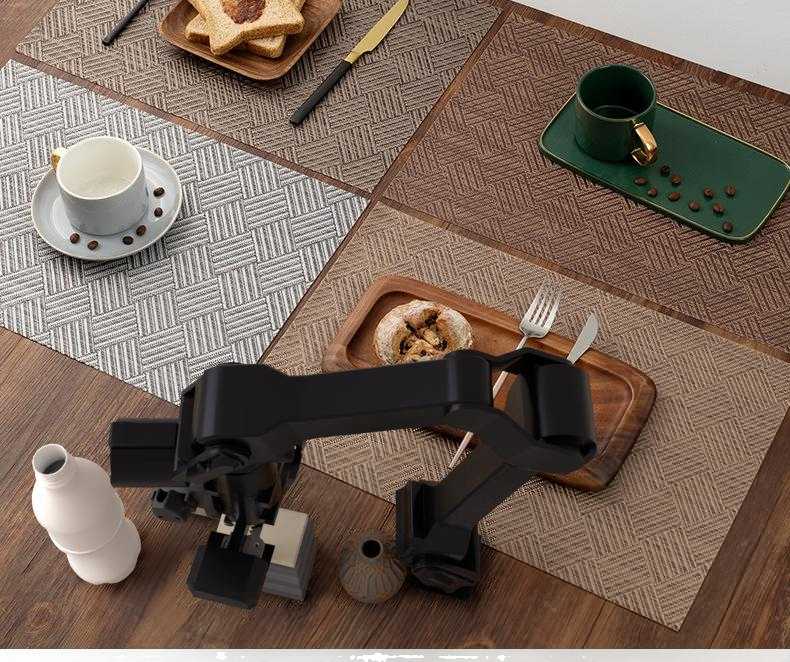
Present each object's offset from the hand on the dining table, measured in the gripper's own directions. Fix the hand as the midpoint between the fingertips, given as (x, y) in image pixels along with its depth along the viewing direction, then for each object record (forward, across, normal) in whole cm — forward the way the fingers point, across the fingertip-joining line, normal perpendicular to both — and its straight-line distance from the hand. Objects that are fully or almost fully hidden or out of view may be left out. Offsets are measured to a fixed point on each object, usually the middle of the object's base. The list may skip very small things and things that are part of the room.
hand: (261, 531), depth 109 cm
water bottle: (+10, +3, -16) cm, 20 cm away
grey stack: (+10, 0, 0) cm, 10 cm away
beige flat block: (+1, 0, 0) cm, 1 cm away
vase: (+10, -1, +10) cm, 15 cm away
